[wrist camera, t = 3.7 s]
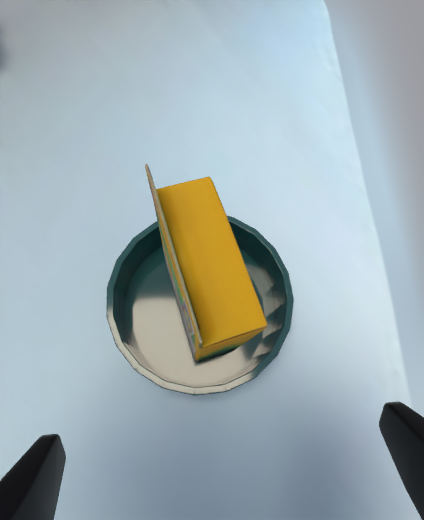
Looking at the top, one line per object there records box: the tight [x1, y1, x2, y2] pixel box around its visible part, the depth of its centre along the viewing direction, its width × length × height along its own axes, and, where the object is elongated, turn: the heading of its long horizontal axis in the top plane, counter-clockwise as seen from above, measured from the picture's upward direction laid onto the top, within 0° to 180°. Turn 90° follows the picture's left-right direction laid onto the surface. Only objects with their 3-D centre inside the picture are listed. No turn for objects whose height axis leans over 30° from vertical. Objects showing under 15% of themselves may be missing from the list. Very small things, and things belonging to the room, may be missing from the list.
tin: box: [107, 216, 294, 395], centre depth 21 cm, size 11×11×4 cm
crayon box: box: [145, 164, 267, 362], centre depth 17 cm, size 7×3×12 cm, turn 18°
